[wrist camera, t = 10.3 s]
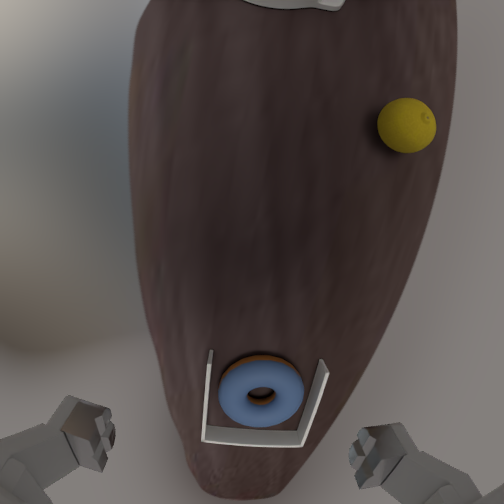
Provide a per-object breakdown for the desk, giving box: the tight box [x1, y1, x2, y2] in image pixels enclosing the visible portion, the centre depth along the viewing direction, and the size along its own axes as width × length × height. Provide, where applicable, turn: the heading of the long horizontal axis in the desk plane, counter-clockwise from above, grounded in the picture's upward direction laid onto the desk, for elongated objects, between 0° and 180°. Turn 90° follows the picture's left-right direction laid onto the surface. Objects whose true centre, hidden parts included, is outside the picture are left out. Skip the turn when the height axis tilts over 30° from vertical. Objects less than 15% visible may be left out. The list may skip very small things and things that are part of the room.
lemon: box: [377, 98, 436, 153], centre depth 24 cm, size 6×6×8 cm
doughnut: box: [218, 355, 304, 427], centre depth 31 cm, size 10×10×5 cm
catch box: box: [201, 350, 329, 447], centre depth 32 cm, size 13×13×3 cm
